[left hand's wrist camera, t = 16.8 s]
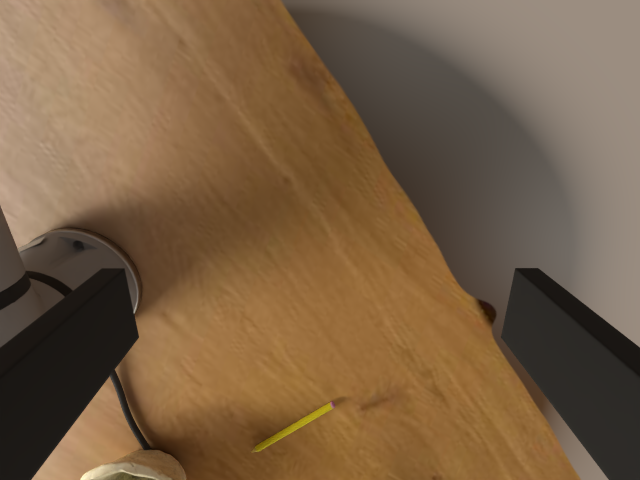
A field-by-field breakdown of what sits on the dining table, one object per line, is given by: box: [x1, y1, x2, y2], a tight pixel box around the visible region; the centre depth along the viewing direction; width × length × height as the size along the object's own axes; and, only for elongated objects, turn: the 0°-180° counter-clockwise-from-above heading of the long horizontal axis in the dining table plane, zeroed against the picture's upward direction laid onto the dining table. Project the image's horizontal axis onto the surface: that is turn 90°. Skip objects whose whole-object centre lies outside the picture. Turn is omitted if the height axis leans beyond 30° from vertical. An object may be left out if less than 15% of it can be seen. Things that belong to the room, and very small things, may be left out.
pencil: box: [250, 401, 335, 453], centre depth 58 cm, size 16×1×1 cm, turn 127°
